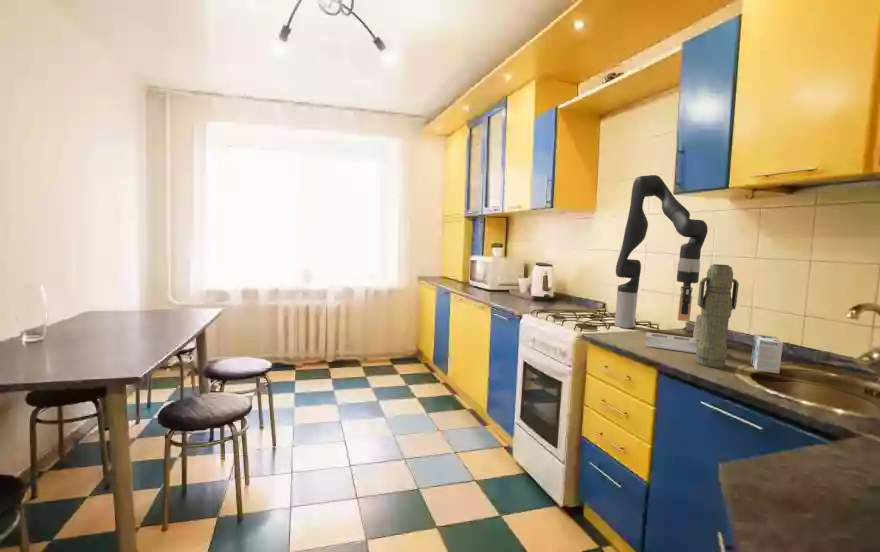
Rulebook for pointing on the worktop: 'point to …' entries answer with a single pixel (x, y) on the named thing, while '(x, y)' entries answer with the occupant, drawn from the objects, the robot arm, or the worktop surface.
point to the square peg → (681, 316)
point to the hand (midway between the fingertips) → (684, 313)
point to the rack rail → (671, 342)
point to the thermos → (715, 315)
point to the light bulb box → (766, 353)
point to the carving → (697, 327)
